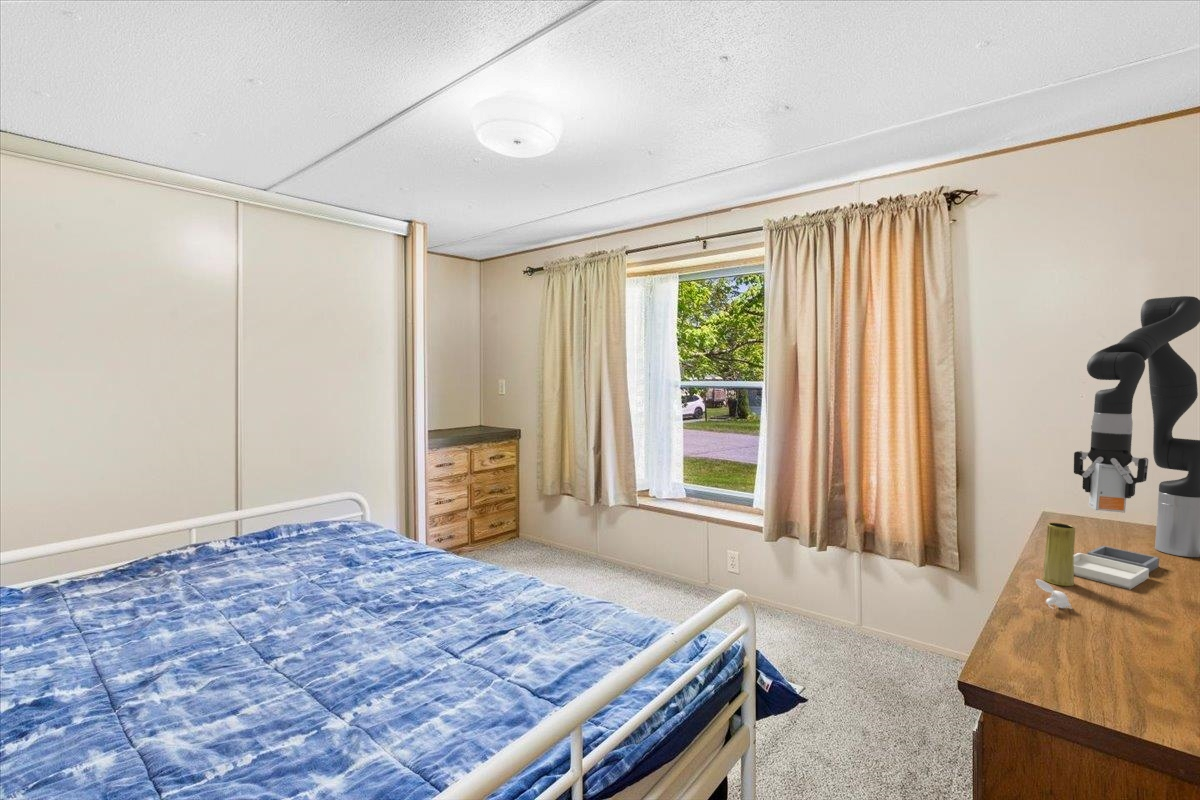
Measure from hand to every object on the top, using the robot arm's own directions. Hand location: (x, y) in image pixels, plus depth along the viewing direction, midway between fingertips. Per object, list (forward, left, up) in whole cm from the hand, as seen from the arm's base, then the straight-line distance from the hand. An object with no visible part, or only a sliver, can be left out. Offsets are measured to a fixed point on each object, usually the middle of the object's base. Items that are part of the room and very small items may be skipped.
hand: (1107, 494), depth 139 cm
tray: (0, 0, -21) cm, 21 cm away
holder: (-15, 0, -21) cm, 26 cm away
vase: (+16, -4, -21) cm, 27 cm away
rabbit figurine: (+36, +1, -21) cm, 41 cm away
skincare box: (0, 0, -4) cm, 4 cm away
